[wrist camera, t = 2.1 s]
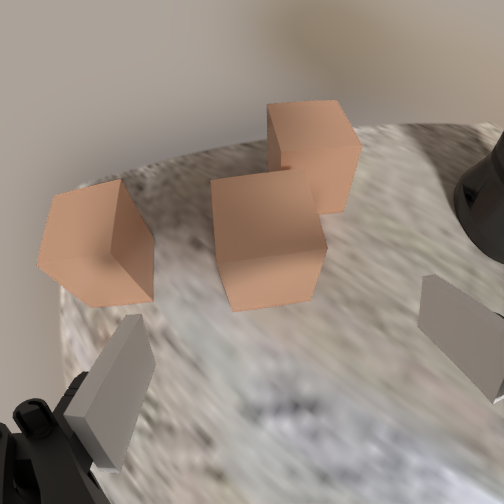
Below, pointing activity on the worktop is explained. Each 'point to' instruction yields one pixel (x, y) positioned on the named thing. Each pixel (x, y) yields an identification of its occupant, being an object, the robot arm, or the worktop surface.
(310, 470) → the worktop surface
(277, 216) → the smooth terracotta cube
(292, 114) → the peach colored cube
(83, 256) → the tan peach cube
